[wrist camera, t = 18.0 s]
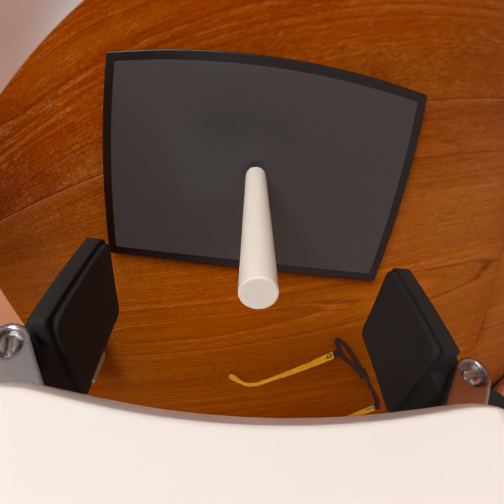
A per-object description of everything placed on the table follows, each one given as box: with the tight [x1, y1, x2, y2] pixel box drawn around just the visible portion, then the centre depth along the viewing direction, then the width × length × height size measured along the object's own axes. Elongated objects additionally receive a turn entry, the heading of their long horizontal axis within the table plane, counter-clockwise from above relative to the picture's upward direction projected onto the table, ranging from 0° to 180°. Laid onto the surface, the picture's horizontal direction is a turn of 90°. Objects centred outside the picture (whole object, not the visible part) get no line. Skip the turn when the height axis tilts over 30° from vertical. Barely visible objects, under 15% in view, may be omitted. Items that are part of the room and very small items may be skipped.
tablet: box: [103, 49, 427, 280], centre depth 23 cm, size 17×24×1 cm
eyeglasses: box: [229, 338, 380, 416], centre depth 35 cm, size 14×14×4 cm
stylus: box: [238, 167, 279, 309], centre depth 17 cm, size 1×1×14 cm
